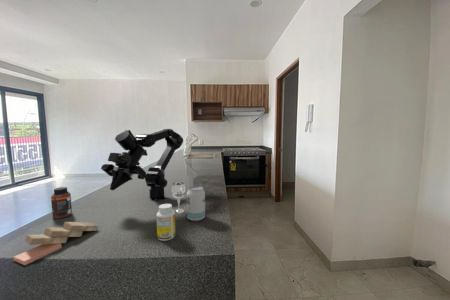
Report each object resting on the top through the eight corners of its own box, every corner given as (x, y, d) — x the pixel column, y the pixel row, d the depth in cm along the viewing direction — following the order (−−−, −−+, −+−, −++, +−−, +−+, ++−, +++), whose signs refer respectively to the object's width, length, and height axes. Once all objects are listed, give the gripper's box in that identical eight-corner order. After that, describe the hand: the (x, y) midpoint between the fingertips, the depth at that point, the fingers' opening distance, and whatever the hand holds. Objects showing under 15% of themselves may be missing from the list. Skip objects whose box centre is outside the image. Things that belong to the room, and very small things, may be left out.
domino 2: (50, 240, 57) (13, 256, 50) (61, 244, 55) (24, 261, 48) (51, 245, 57) (14, 262, 50) (61, 249, 55) (25, 267, 48)
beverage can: (205, 221, 72) (205, 190, 71) (186, 223, 70) (186, 191, 69) (204, 214, 78) (204, 185, 77) (187, 215, 77) (186, 186, 76)
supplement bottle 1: (75, 214, 78) (73, 187, 77) (57, 220, 73) (55, 191, 72) (66, 211, 81) (65, 185, 80) (49, 217, 75) (47, 189, 74)
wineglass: (188, 209, 83) (187, 182, 82) (181, 215, 78) (180, 185, 77) (176, 208, 85) (176, 181, 84) (169, 213, 79) (168, 184, 78)
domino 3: (75, 228, 64) (46, 227, 57) (82, 231, 61) (52, 231, 55) (73, 233, 63) (43, 233, 57) (80, 236, 61) (50, 237, 54)
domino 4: (90, 222, 68) (64, 221, 61) (98, 225, 65) (72, 225, 59) (89, 227, 68) (62, 227, 61) (96, 230, 65) (69, 231, 58)
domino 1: (61, 233, 60) (27, 234, 54) (67, 237, 57) (32, 238, 51) (59, 239, 60) (24, 240, 53) (65, 242, 57) (29, 245, 51)
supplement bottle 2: (169, 230, 65) (168, 201, 64) (178, 236, 62) (178, 205, 61) (153, 237, 61) (152, 206, 60) (163, 243, 57) (162, 210, 56)
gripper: (103, 144, 79) (77, 176, 70) (139, 145, 73) (116, 180, 64) (120, 160, 87) (99, 191, 78) (154, 162, 81) (135, 196, 72)
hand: (111, 189), depth 73 cm, fingers closed
